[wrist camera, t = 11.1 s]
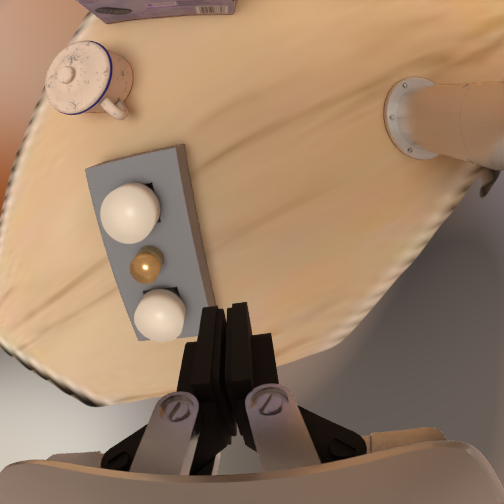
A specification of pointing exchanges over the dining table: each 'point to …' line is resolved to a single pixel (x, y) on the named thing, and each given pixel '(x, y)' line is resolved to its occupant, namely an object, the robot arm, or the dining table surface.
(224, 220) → the dining table surface
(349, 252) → the dining table surface
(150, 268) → the brass ball
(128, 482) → the robot arm
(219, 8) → the cake pan box
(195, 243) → the mount
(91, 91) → the teacup with lid
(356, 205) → the dining table surface
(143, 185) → the ivory knob
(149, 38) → the dining table surface
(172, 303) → the ivory knob
